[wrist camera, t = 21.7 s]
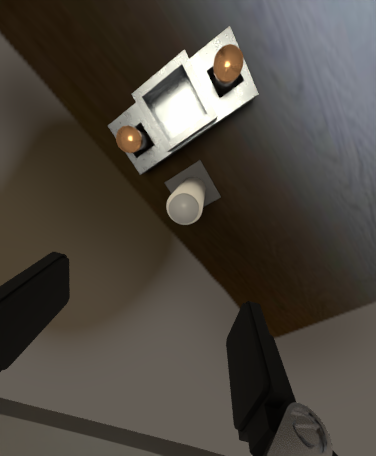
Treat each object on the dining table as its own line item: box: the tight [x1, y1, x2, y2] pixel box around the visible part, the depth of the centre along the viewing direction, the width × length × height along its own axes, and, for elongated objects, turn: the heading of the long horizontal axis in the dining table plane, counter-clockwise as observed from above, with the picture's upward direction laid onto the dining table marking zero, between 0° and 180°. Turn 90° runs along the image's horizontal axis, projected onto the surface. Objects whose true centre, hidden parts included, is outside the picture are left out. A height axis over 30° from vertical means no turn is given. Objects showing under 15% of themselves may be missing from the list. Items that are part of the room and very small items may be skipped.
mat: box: [165, 160, 221, 207], centre depth 38 cm, size 8×8×1 cm
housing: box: [108, 26, 258, 174], centre depth 30 cm, size 22×9×8 cm, turn 122°
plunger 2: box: [213, 44, 244, 94], centre depth 27 cm, size 4×4×8 cm
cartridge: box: [167, 177, 206, 225], centre depth 32 cm, size 5×5×13 cm
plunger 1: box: [116, 126, 152, 153], centre depth 32 cm, size 4×4×8 cm
